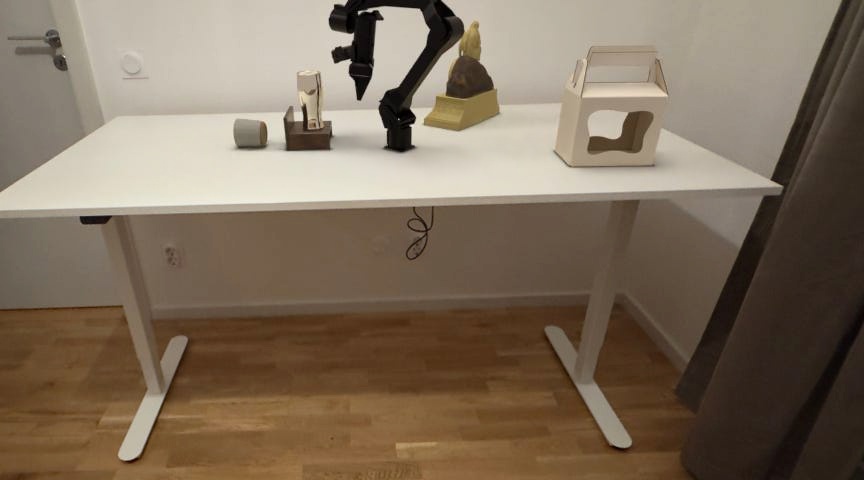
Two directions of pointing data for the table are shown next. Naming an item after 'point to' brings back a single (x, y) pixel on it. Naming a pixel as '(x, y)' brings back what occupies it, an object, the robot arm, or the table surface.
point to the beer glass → (311, 98)
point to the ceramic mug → (250, 133)
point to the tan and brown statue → (465, 89)
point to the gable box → (632, 97)
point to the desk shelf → (305, 134)
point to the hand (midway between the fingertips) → (359, 97)
